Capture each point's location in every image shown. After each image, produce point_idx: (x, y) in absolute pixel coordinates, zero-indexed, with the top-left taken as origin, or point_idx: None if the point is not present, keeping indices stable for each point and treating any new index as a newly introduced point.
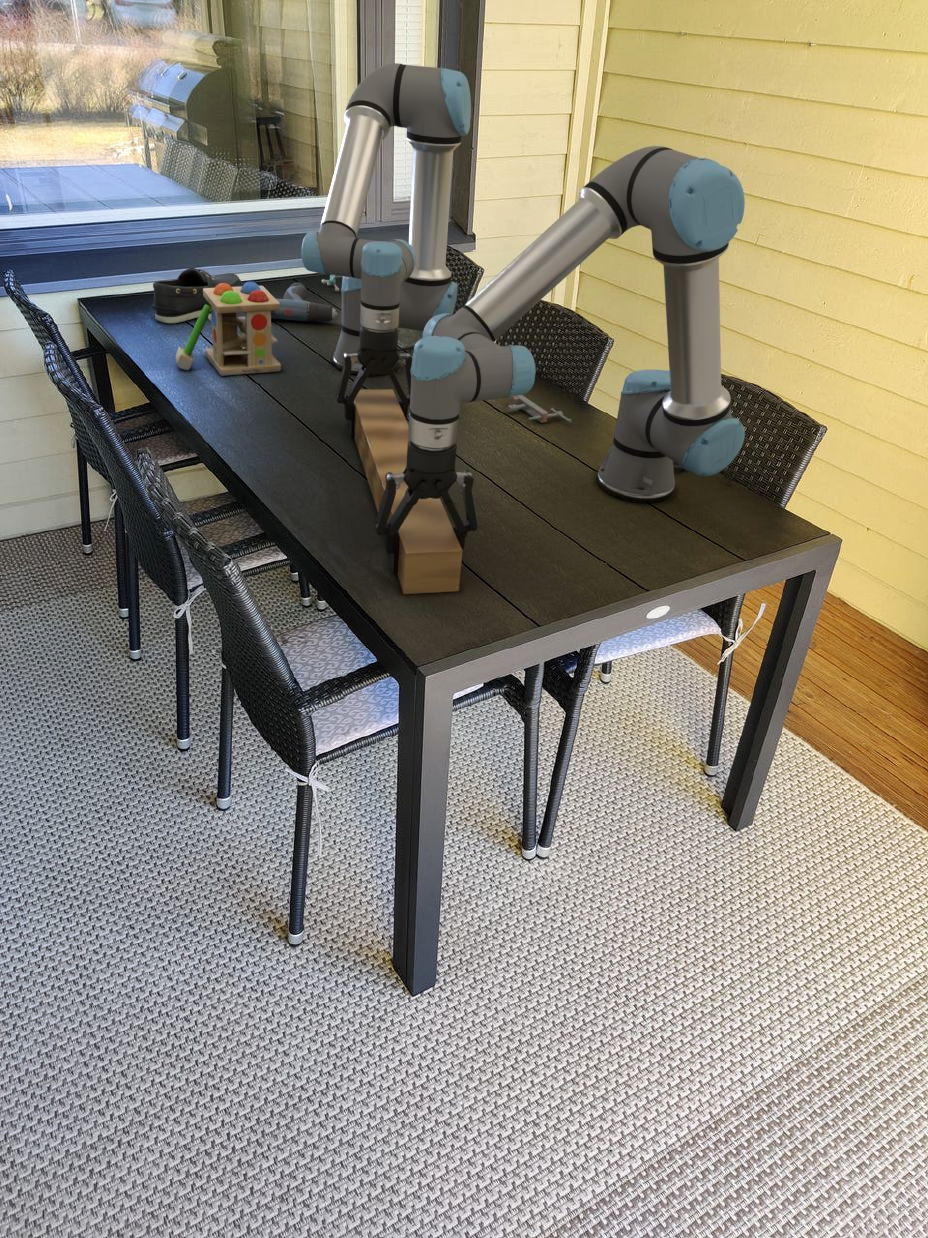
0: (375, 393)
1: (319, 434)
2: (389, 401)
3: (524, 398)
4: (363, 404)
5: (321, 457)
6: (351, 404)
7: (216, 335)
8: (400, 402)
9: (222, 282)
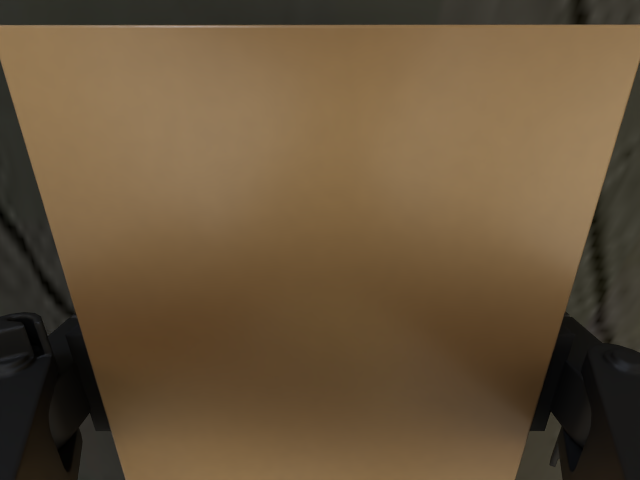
0: (348, 189)
1: (29, 225)
2: (452, 395)
3: None
4: (189, 449)
5: (80, 429)
6: (79, 446)
7: None
8: (563, 351)
9: None
